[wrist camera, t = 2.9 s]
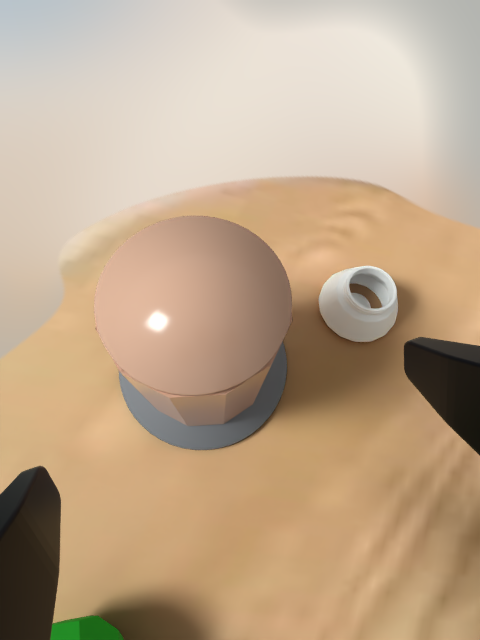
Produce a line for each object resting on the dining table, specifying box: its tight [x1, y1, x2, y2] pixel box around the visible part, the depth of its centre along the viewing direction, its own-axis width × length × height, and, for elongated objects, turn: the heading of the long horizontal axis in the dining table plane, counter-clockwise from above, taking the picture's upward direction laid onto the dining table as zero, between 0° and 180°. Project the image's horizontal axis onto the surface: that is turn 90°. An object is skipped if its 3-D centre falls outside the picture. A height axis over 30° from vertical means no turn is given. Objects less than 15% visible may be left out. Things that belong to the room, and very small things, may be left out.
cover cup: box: [94, 216, 293, 426], centre depth 18 cm, size 7×7×9 cm
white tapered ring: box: [319, 266, 398, 342], centre depth 24 cm, size 5×3×5 cm
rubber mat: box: [119, 342, 287, 450], centre depth 23 cm, size 10×10×1 cm
